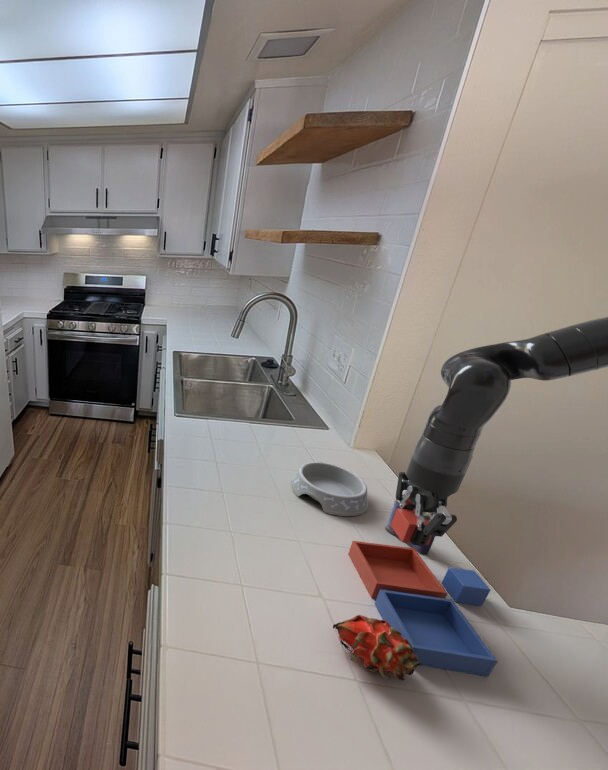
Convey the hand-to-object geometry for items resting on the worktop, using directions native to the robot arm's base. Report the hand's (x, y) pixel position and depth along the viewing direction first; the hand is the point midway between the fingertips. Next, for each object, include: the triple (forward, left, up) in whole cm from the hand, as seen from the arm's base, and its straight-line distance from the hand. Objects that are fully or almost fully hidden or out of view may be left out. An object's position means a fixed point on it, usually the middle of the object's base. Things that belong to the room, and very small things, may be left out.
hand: (409, 533), depth 76 cm
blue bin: (0, +13, -12) cm, 18 cm away
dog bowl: (+3, -27, -13) cm, 30 cm away
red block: (0, 0, 0) cm, 0 cm away
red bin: (0, 0, -12) cm, 12 cm away
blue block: (-12, +2, -12) cm, 17 cm away
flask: (-9, -13, -13) cm, 20 cm away
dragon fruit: (+12, +18, -13) cm, 25 cm away
